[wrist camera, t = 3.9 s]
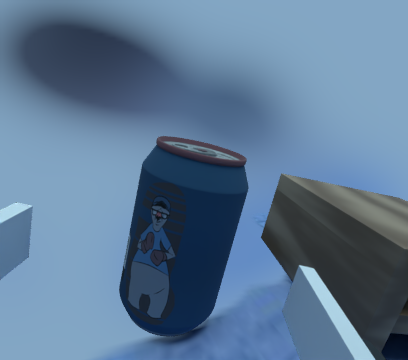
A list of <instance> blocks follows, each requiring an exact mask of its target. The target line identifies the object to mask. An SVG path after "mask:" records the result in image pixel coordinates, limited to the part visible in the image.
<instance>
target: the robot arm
mask: <svg viewBox="0 0 408 360" xmlns="http://www.w3.org/2000/svg"><path fill="white" fill-rule="evenodd" d="M32 208H33V206H30V205H26V204H21V203H17V202H16V203H14V204H12V205H10V206H8V207H6V208H3V209H1V210H0V280H1V279H2V278H3V277H4V276H6V275H7V274H8V273H9V272H10V271H12V270H13V269H14V268H16V267H17V266H18V265H19V264H20V263H22V262H23V261H24V260H25V259H27V258H28V257H29V245H30V231H31V220H32ZM282 312H283V315H284V317H285V320H286V323H287V326H288V328H289V331H290V334H291V336H292V339H293V342H294V344H295V347H296V350H297V352H298V355H299V358H300V360H386V359H385V357H384V356H383V355H382V353H381V352H380V351H379V350H378V349H377V348H375V347H374V346H373V345H372V344H371V343H370V342H369V341H368V340H364V339H361V338H360V336H359V335H358V333H357V332H356V330H355V329H354V327H353V326H352V324H351V323H350V321H349V320H348V318H347V317H346V315H345V314H344V312H343V311H342V309H341V308H340V306H339V305H338V303H337V302H336V301H335V299H334V298H333V296H332V295H331V293H330V292H329V290H328V289H327V287H326V286H325V284H324V283H323V281H322V280H321V278H320V277H319V275H318V274H317V272H316V271H315V269H314V268H310V267H305V266H301V265H299V267H298V269H297V272H296V275H295V277H294V280H293V283H292V286H291V288H290V291H289V294H288V297H287V299H286V302H285V305H284V308H283V310H282Z"/></svg>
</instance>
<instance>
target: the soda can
mask: <svg viewBox="0 0 408 360" xmlns="http://www.w3.org/2000/svg"><path fill="white" fill-rule="evenodd" d="M245 163H246V158H245V157H244V156H242V155H240V154H238V153H236V152H233V151H230V150H228V149H225V148H222V147H218V146H215V145H212V144H208V143H204V142H199V141H194V140H189V139H184V138H177V137H167V136H162V137H158V138H157V145H156V146H155V148H154V149H153V150H152V151H151V153H150V154H149V155H148V156H147V158H146V159H145V161H144V162H143V164H142V169H141V174H140V180H139V185H138V190H137V196H136V201H135V206H134V212H133V217H132V223H131V228H130V233H129V239H128V244H127V249H126V255H125V261H124V266H123V271H122V277H121V282H120V289H119V291H120V297H121V300H122V303H123V305H124V307H125V309H126V311H127V312H128V314H129V316H130V317H131V319H132V320H133V321H134V322H135V324H137V325H138V326H139V327H140V328H142V329H144V330H145V331H147V332H149V333H152V334H155V335H160V336H178V335H182V334H185V333H187V332H189V331H191V330H192V329H194V328H195V327H197V326H198V325H199V324H201V323H202V322H203V321H205V320H206V319H207V318H208V317H209V315H210V314H211V313H212V311H213V309H214V306H215V303H216V299H217V296H218V292H219V288H220V285H221V282H222V278H223V275H224V271H225V268H226V264H227V261H228V258H229V254H230V250H231V247H232V244H233V240H234V236H235V233H236V230H237V226H238V223H239V219H240V216H241V212H242V209H243V205H244V202H245V199H246V195H247V192H248V182H247V177H246V172H245V167H244V165H245Z"/></svg>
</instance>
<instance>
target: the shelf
mask: <svg viewBox="0 0 408 360" xmlns="http://www.w3.org/2000/svg"><path fill="white" fill-rule="evenodd" d="M261 238H262V240H263V241H264V242H265V244H266V245H267V247H268V248H269V249H270V250H271V252H272V253H273V255H274V256H275V258H276V259H277V260H278V262H279V263H280V265H281V266H282V267H283V269H284V270H285V272H286V273H287V274H288V276H289V277H290V279H291V280H292V281H293V280H294V277H295V275H296V272H297V269H298V267H299V265H301V266H305V267H310V268H314V269H315V271H316V272H317V274H318V275H319V277H320V278H321V280H322V281H323V283H324V284H325V286H326V287H327V289H328V290H329V292H330V293H331V295H332V296H333V298H334V299H335V301H336V302H337V303H338V305H339V306H340V308H341V309H342V311H343V312H344V314H345V315H346V317H347V318H348V320H349V321H350V323H351V324H352V326H353V327H354V329H355V330H356V332H357V333H358V335H359V336H360V338H361V339H364V340H368V341H369V342H370V343H371V344H372V345H373V346H374V347H375V348H377V349H378V350H379V351H380V352H381V351H382V349H383V347H384V345H385V343H386V341H387V339H388V337H389V335H390V333H397V334H408V201H405V200H403V199H400V198H397V197H392V196H387V195H382V194H378V193H373V192H367V191H363V190H358V189H353V188H348V187H344V186H339V185H334V184H329V183H325V182H320V181H315V180H310V179H305V178H301V177H296V176H291V175H286V174H281V176H280V179H279V183H278V186H277V189H276V192H275V195H274V198H273V201H272V205H271V208H270V211H269V214H268V217H267V220H266V224H265V227H264V230H263V233H262V236H261Z"/></svg>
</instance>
